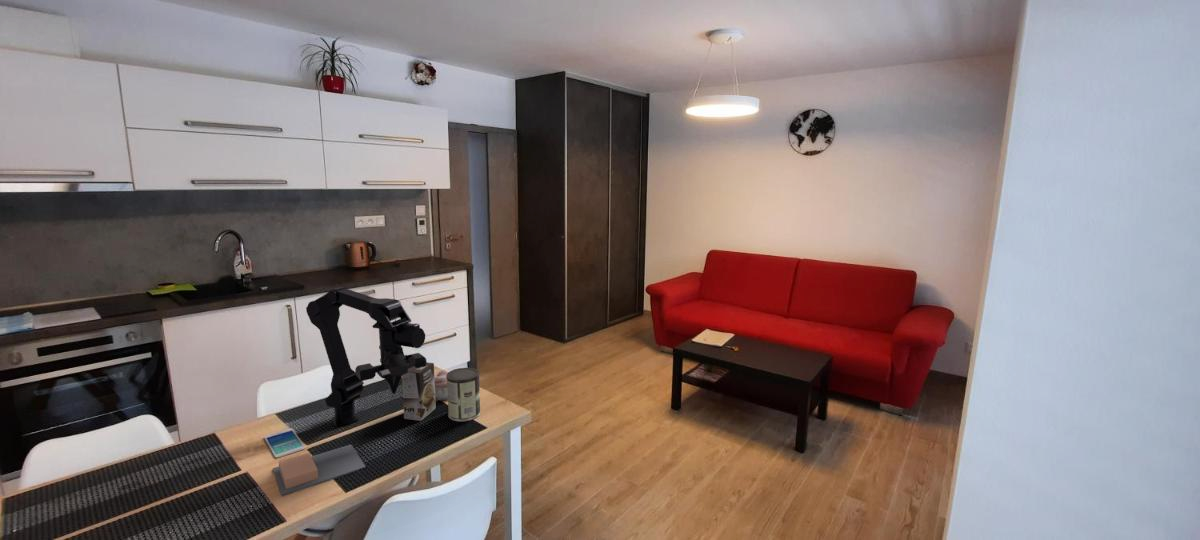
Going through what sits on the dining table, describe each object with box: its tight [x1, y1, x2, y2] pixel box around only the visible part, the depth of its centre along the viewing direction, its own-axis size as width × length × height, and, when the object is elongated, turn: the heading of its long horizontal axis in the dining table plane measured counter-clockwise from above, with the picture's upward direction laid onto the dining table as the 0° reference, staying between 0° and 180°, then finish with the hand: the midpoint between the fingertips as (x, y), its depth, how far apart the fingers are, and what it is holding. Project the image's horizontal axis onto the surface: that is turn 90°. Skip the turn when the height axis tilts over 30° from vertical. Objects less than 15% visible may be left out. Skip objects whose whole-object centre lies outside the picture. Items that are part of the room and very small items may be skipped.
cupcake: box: [434, 369, 449, 401], centre depth 173 cm, size 9×9×10 cm
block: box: [278, 452, 318, 489], centre depth 127 cm, size 10×2×7 cm
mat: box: [272, 444, 367, 497], centre depth 130 cm, size 14×19×1 cm
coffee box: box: [401, 362, 437, 422], centre depth 159 cm, size 9×6×16 cm
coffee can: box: [446, 367, 481, 423], centre depth 160 cm, size 10×10×14 cm
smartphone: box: [263, 427, 306, 459], centre depth 142 cm, size 8×1×15 cm
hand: (393, 393), depth 147 cm, fingers closed
